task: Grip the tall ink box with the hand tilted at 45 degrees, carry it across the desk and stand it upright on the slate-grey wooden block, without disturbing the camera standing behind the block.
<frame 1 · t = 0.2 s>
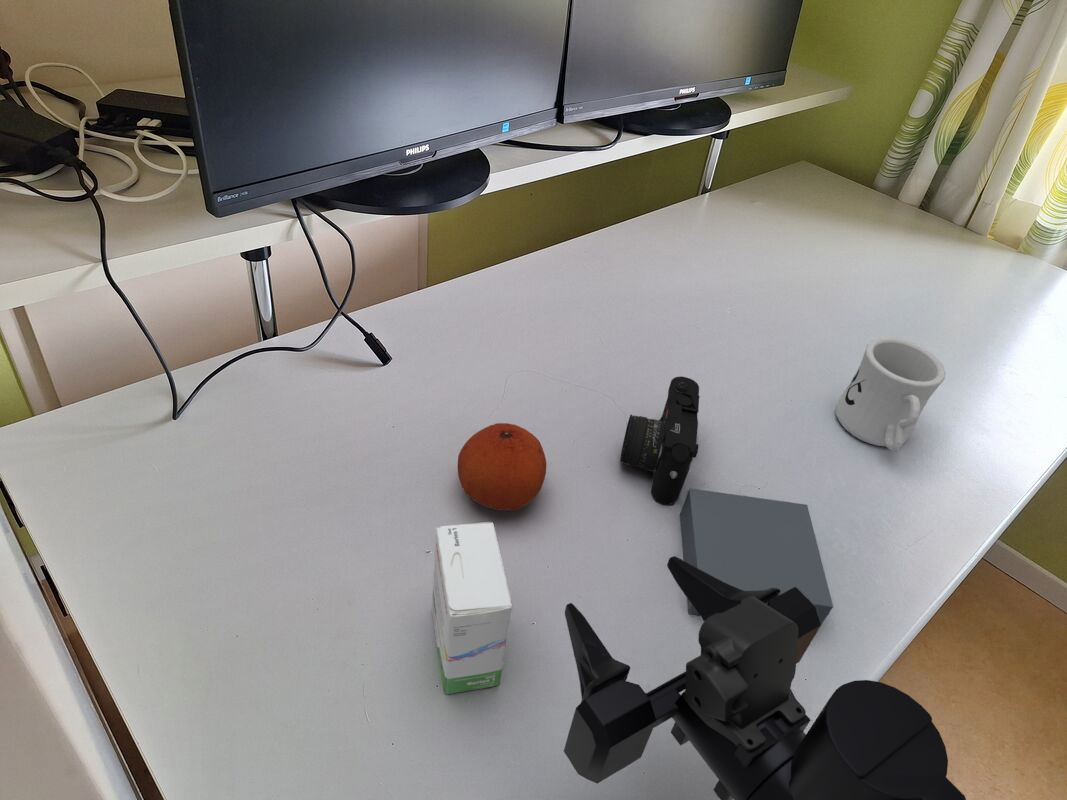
hand: (620, 582, 54), 14 cm above the table, tool horizontal, fingers open, 9 cm apart
camera: (652, 459, 84), on the table
ink box: (464, 647, 65), on the table
mug: (872, 433, 92), on the table
grey block: (744, 569, 74), on the table
fruit: (497, 492, 78), on the table
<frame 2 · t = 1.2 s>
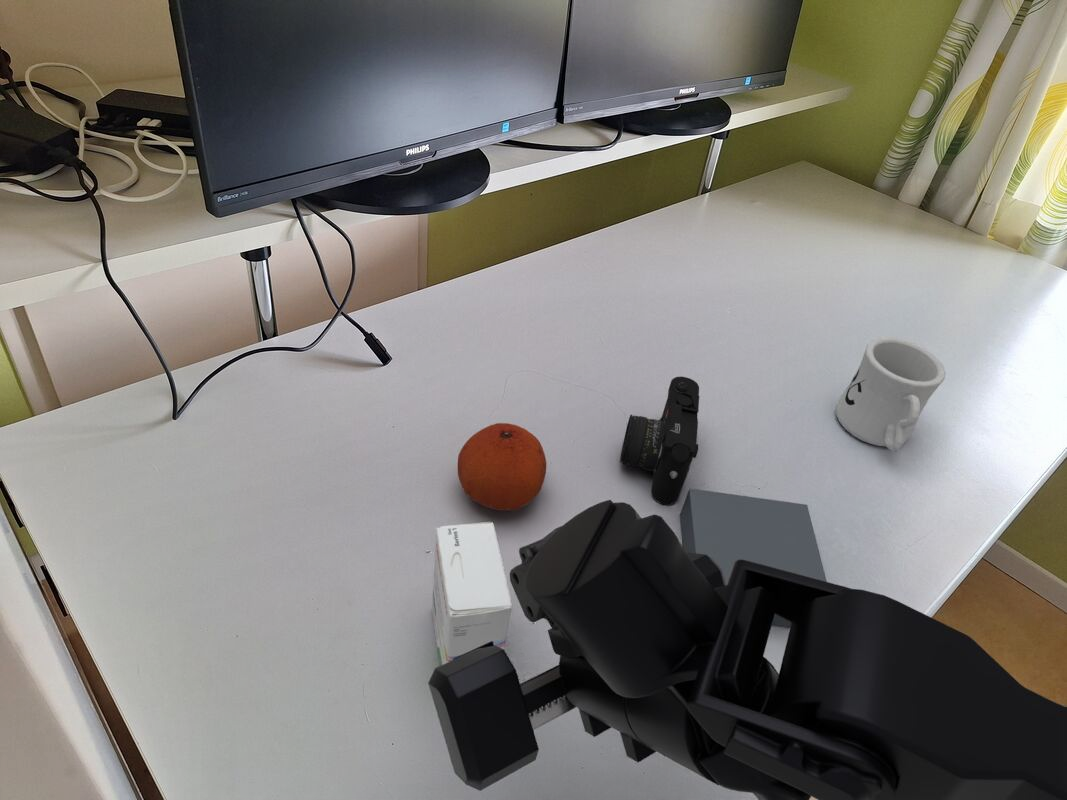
hand: (531, 632, 51), 14 cm above the table, tool tilted 45°, fingers open, 9 cm apart
nothing on the table moved.
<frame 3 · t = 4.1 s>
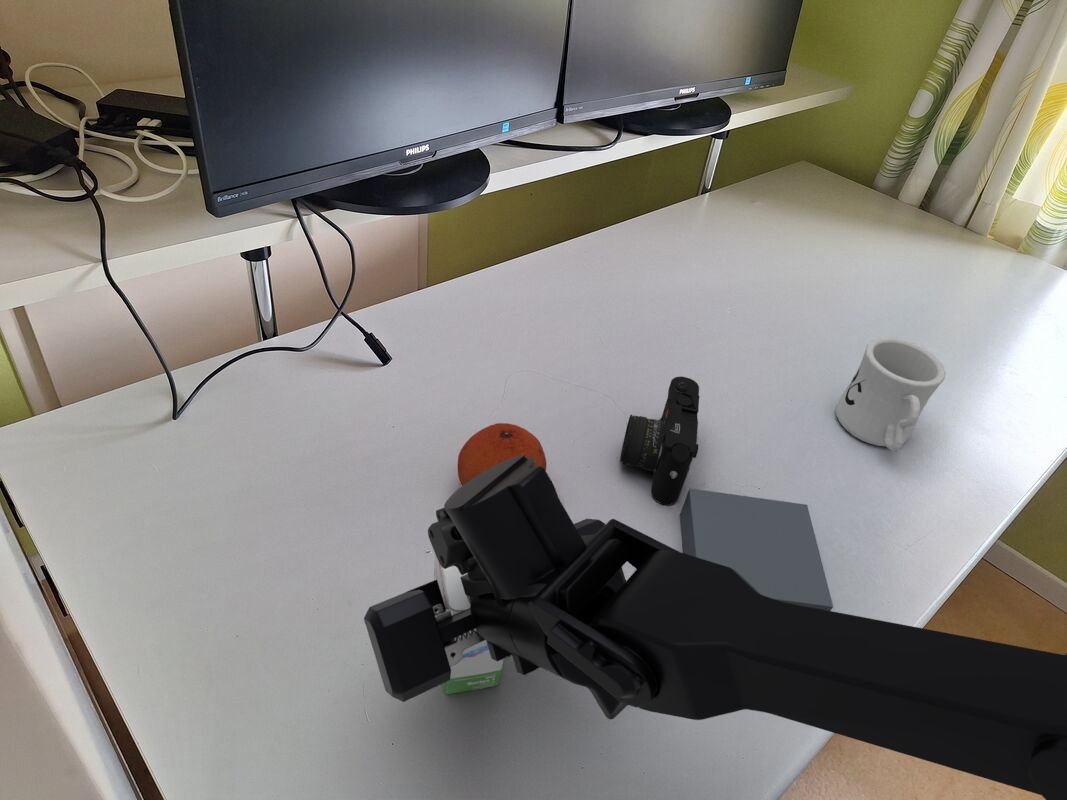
hand: (461, 587, 61), 7 cm above the table, tool tilted 45°, fingers closed on ink box, 6 cm apart
ink box: (464, 647, 65), on the table, touching gripper
everything else where it was.
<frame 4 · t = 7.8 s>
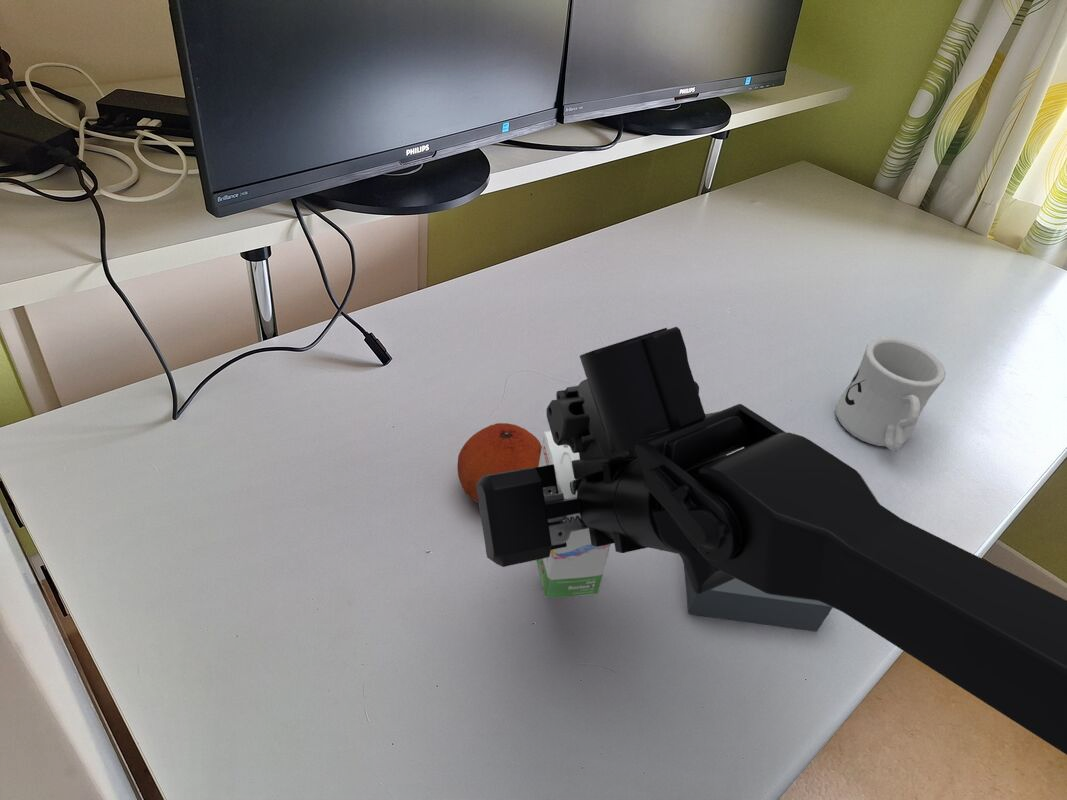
hand: (569, 494, 62), 12 cm above the table, tool tilted 45°, fingers closed on ink box, 5 cm apart
ink box: (561, 559, 66), point 5 cm above the table, touching gripper
everything else where it was.
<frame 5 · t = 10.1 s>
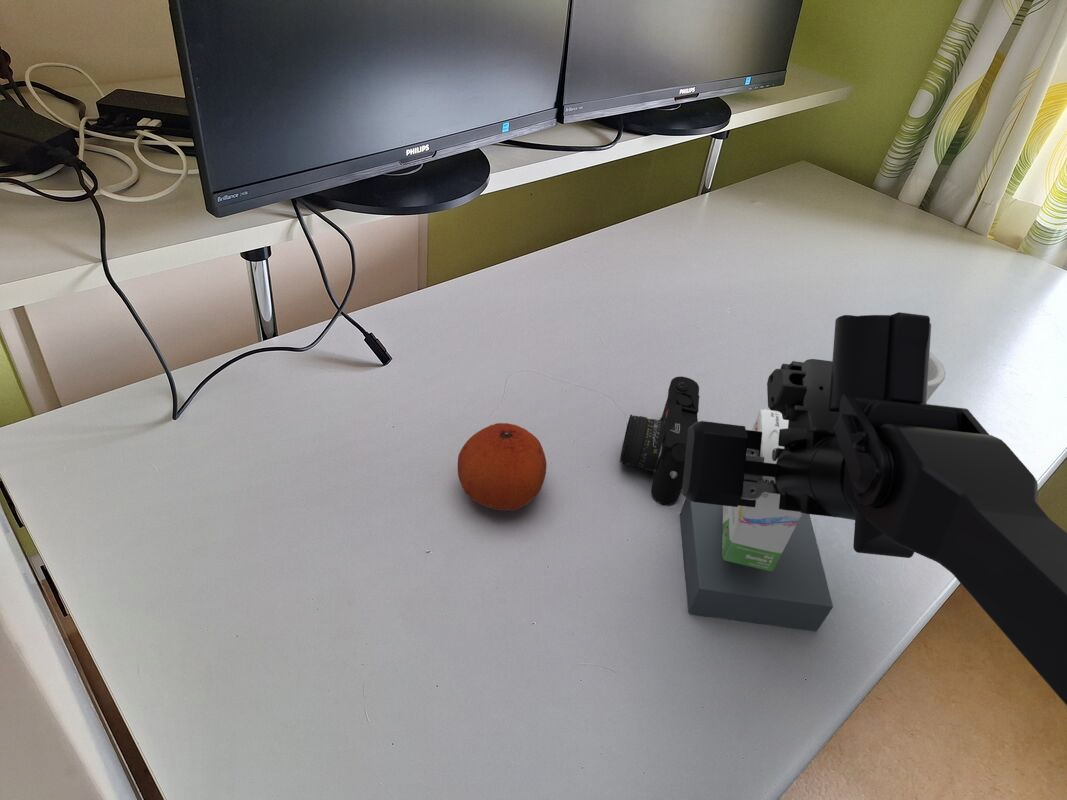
hand: (768, 473, 67), 12 cm above the table, tool tilted 45°, fingers closed on ink box, 5 cm apart
ink box: (745, 533, 70), point 5 cm above the table, touching gripper
everything else where it was.
when the fingers open (11 cm above the table, at t = 11.8 s): ink box stays where it is, resting on grey block.
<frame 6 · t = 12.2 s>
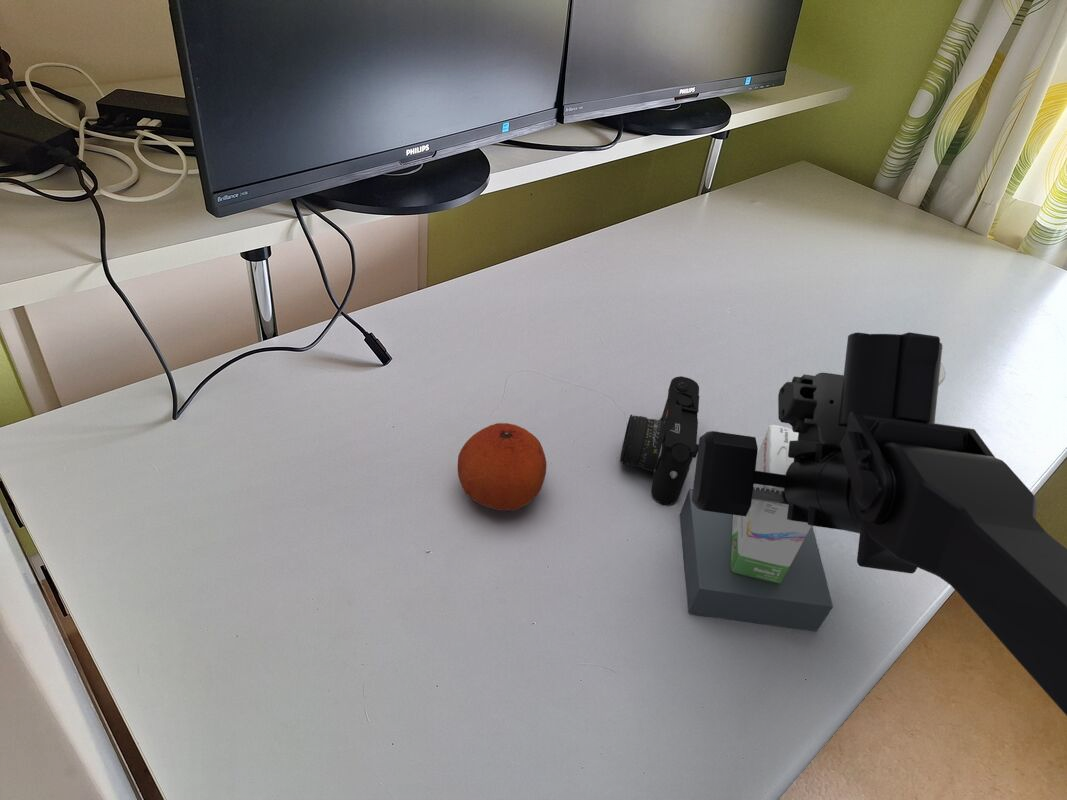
hand: (778, 481, 68), 11 cm above the table, tool tilted 45°, fingers open, 9 cm apart
ink box: (755, 545, 72), point 4 cm above the table, touching grey block
everything else where it was.
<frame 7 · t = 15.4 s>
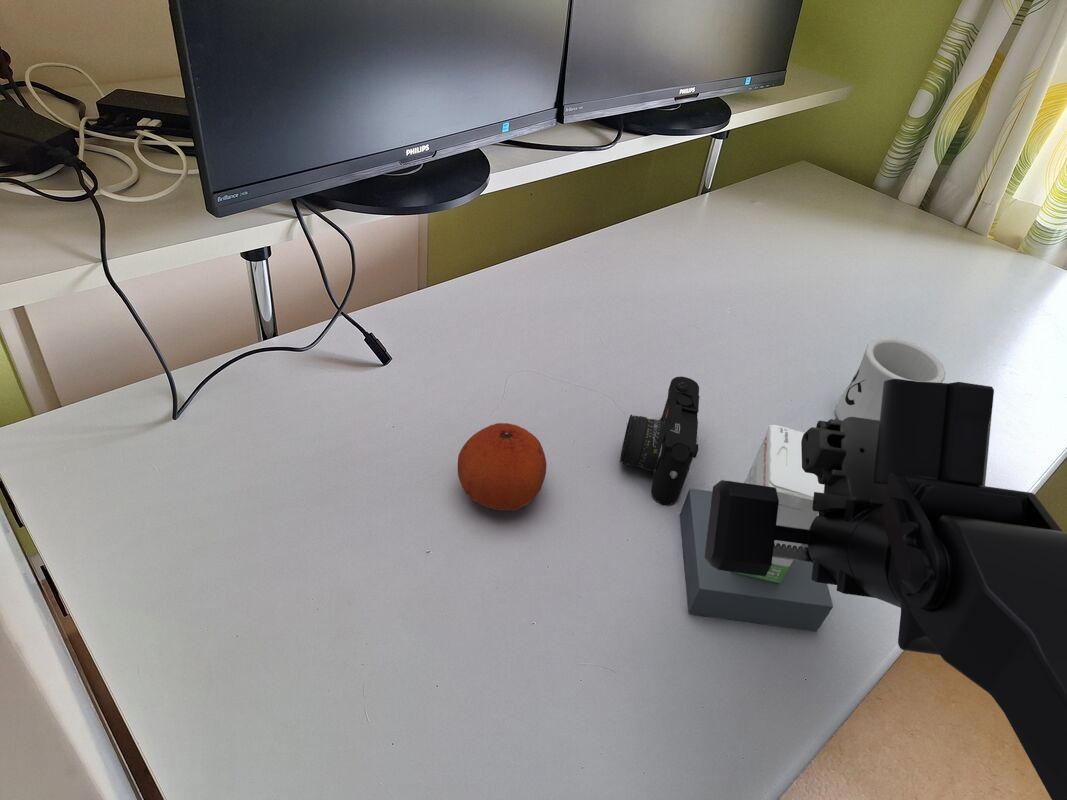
hand: (798, 529, 62), 13 cm above the table, tool tilted 45°, fingers open, 9 cm apart
nothing on the table moved.
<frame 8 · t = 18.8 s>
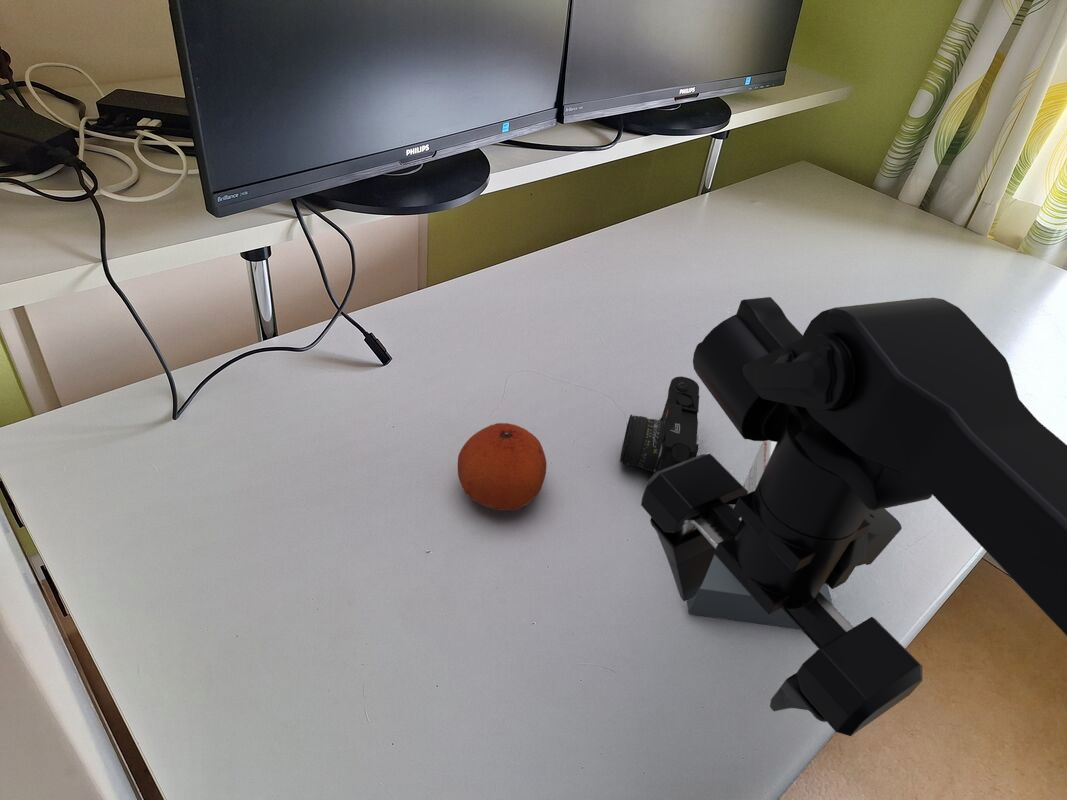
hand: (729, 648, 52), 13 cm above the table, tool pointing down, fingers open, 9 cm apart
nothing on the table moved.
at the end: ink box inside the target area on the grey block (0.1 cm from its centre), point 3.8 cm above the grey block's base; ink box tilted 0°; camera moved 0.2 cm from its start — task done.
